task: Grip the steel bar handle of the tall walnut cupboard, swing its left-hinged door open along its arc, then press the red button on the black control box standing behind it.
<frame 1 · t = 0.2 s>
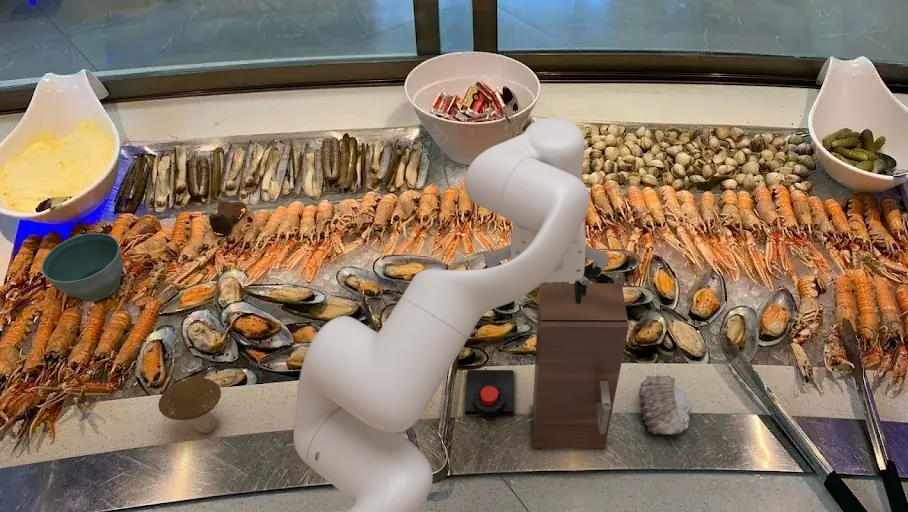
hand: (544, 296, 97), 48 cm above the counter, tool pointing down, fingers open, 9 cm apart
control box: (490, 394, 140), on the counter
sculpture: (227, 224, 179), on the counter
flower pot: (100, 288, 162), on the counter
button: (489, 395, 135), point 4 cm above the counter, slide at 0.1 cm
cupboard: (567, 424, 135), on the counter
seashell: (663, 413, 137), on the counter
door: (577, 405, 117), point 19 cm above the counter, hinge at 0.0°
mushroom: (206, 428, 134), on the counter
stone: (362, 440, 132), on the counter
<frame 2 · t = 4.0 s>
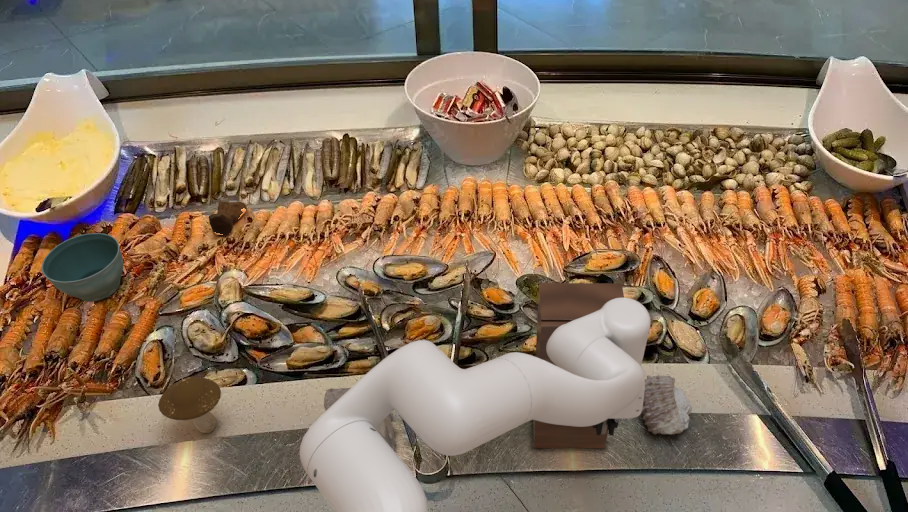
hand: (604, 427, 115), 18 cm above the counter, tool pointing down, fingers closed
door: (577, 405, 117), point 19 cm above the counter, hinge at 0.0°, touching gripper
everything else where it was.
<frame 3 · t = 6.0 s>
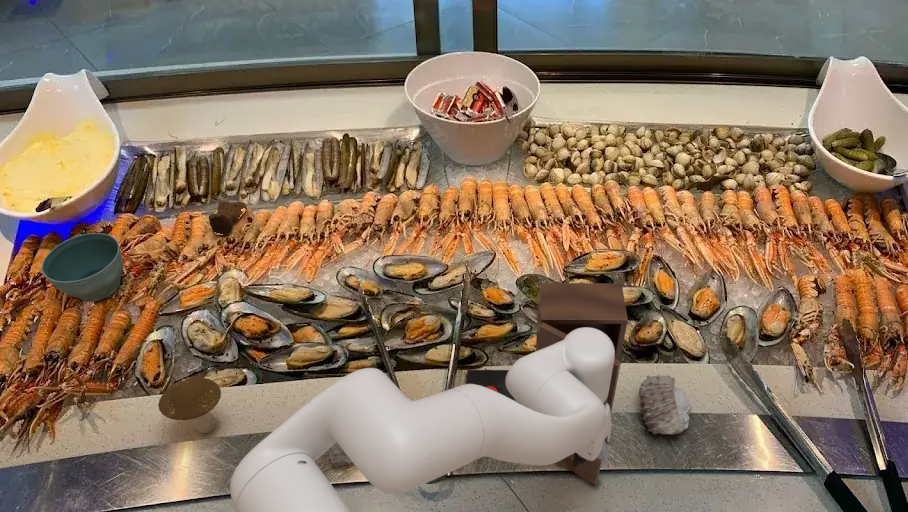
hand: (574, 456, 111), 18 cm above the counter, tool pointing down, fingers closed
door: (562, 422, 114), point 19 cm above the counter, hinge at 33.5°, touching gripper
everything else where it was.
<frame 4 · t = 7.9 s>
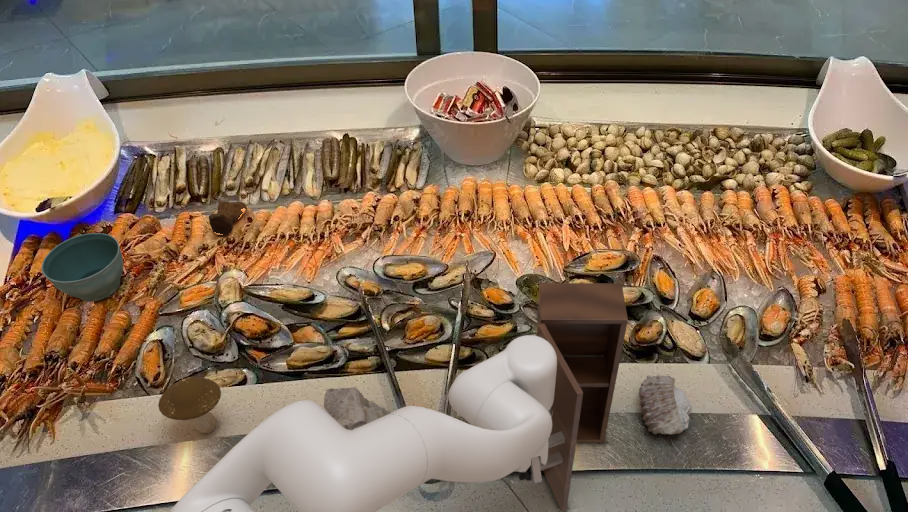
hand: (525, 464, 110), 18 cm above the counter, tool pointing down, fingers open, 3 cm apart
door: (538, 429, 113), point 19 cm above the counter, hinge at 67.8°
everything else where it was.
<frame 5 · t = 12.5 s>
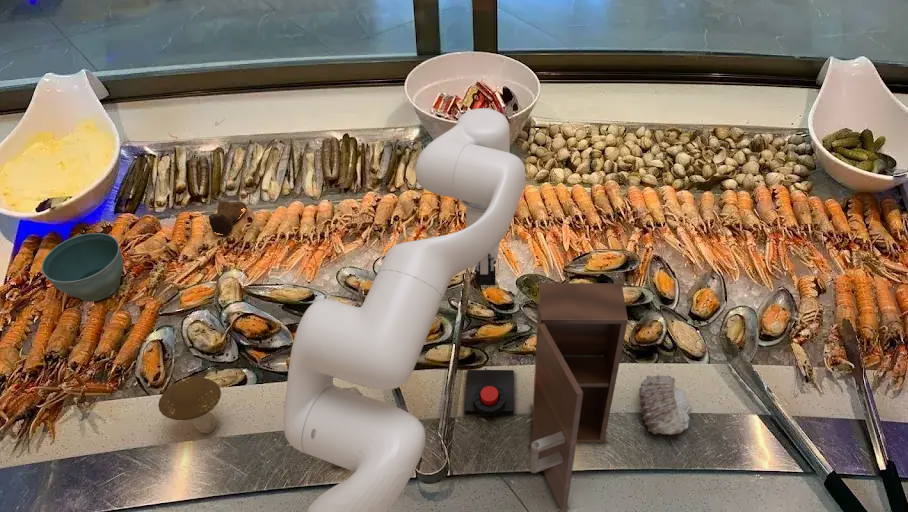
hand: (486, 272, 111), 40 cm above the counter, tool pointing down, fingers open, 4 cm apart
nothing on the counter moved.
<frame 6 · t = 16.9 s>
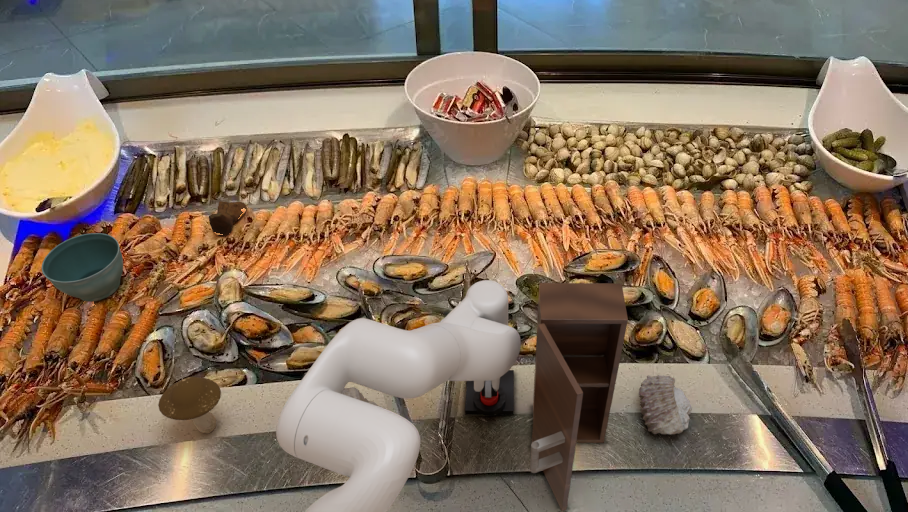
hand: (489, 392, 135), 5 cm above the counter, tool pointing down, fingers closed
button: (489, 395, 135), point 4 cm above the counter, slide at 0.1 cm, touching gripper
everything else where it was.
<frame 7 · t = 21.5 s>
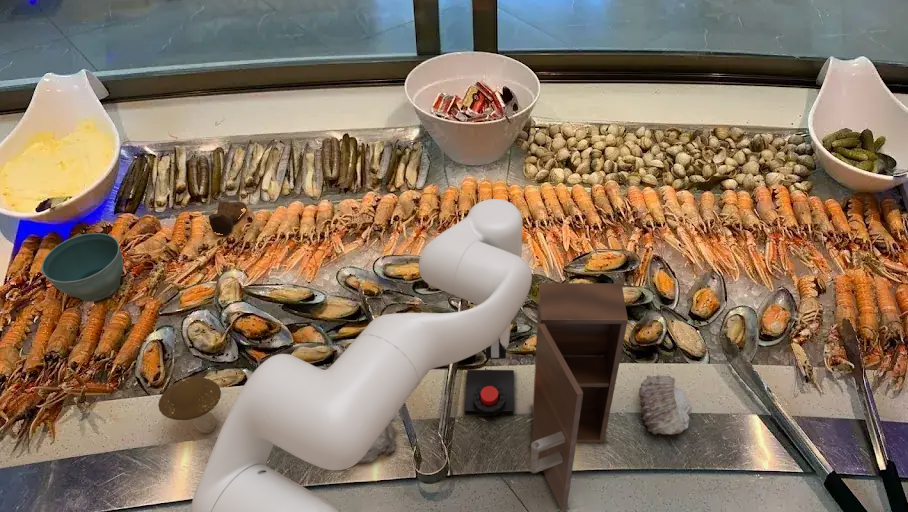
hand: (496, 354, 107), 33 cm above the counter, tool pointing down, fingers closed
button: (489, 395, 135), point 4 cm above the counter, slide at 0.1 cm
everything else where it was.
at the end: door at +68° (first picture: +0°); button pushed in 1.1 cm at the most during the clip, back to where it started at the end; button slide at 0.1 cm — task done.
